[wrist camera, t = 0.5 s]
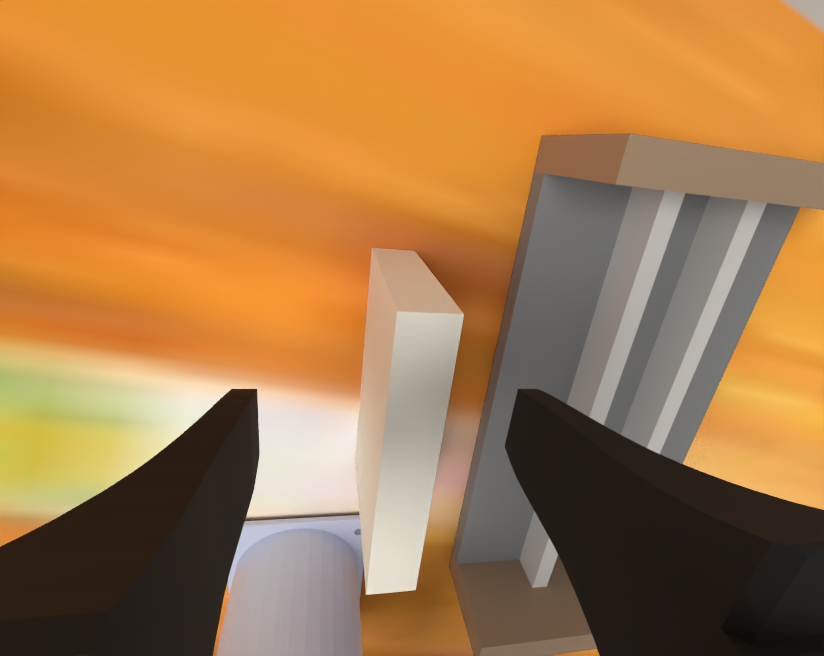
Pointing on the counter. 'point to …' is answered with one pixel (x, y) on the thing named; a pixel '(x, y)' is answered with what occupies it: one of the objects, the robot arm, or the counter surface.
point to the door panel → (402, 413)
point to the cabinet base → (613, 339)
